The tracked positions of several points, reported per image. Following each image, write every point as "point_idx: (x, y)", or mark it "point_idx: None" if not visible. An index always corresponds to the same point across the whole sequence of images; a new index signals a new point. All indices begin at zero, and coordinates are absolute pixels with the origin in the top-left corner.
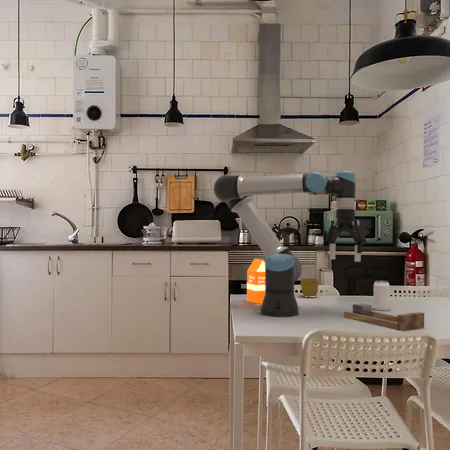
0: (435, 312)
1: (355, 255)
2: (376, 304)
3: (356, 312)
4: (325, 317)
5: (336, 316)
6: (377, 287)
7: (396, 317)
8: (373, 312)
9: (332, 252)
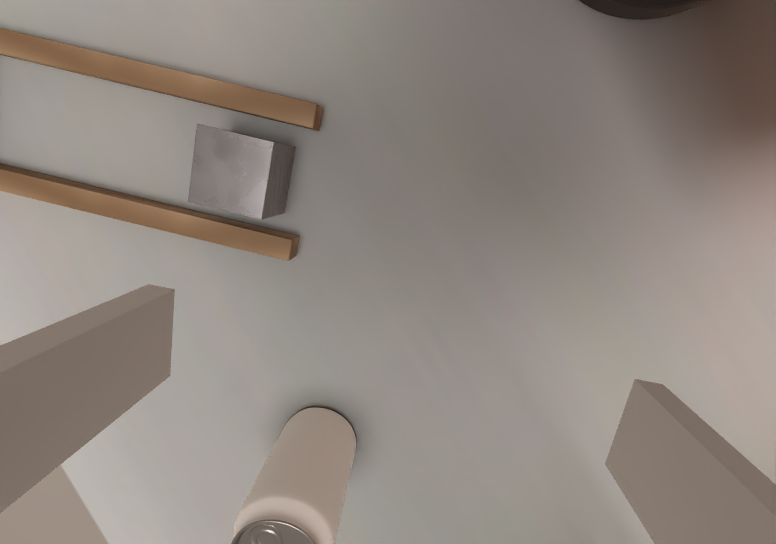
0: (138, 530)
1: (94, 314)
2: (319, 421)
3: (259, 138)
4: (381, 14)
5: (359, 92)
6: (286, 485)
7: (73, 186)
8: (214, 221)
9: (686, 486)
